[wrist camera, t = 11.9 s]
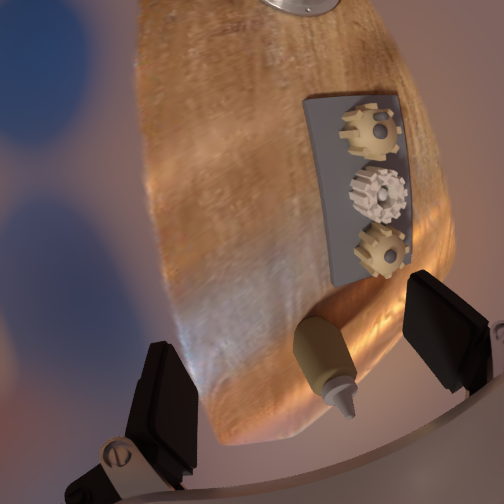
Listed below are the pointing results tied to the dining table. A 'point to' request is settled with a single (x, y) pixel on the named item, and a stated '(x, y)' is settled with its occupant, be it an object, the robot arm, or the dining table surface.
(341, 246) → the gear board
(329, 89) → the dining table surface
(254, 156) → the dining table surface
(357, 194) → the cream idler gear
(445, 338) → the robot arm
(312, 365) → the squeeze bottle
